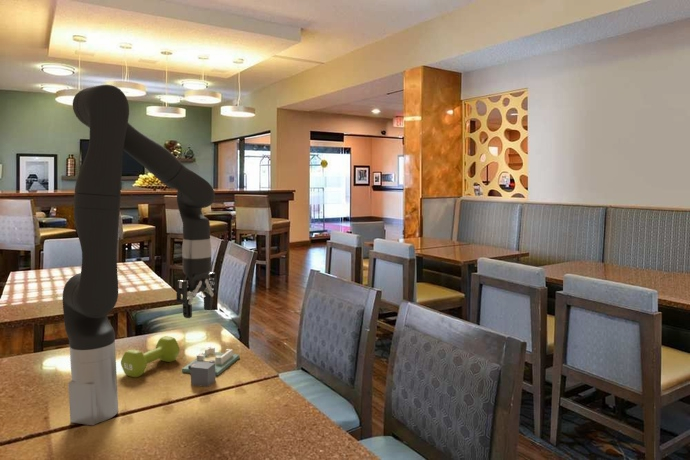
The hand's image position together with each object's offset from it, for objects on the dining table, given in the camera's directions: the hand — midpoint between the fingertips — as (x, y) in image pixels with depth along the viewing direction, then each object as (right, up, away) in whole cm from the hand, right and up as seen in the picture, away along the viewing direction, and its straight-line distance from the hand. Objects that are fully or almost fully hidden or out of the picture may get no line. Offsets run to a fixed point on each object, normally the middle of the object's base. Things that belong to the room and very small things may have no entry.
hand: (198, 313), depth 133 cm
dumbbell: (-16, -17, +8) cm, 25 cm away
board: (+1, -17, +10) cm, 20 cm away
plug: (+2, -18, -2) cm, 19 cm away
